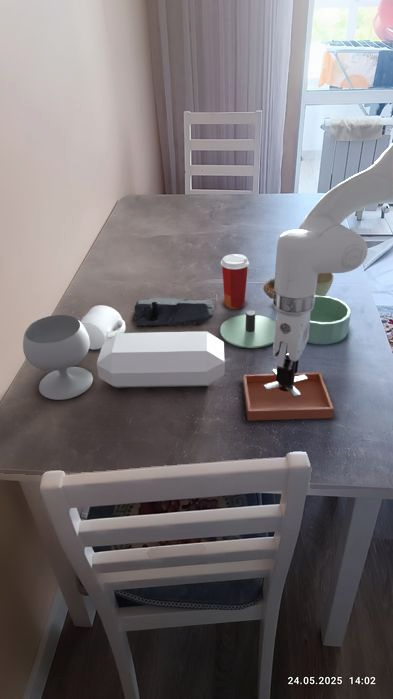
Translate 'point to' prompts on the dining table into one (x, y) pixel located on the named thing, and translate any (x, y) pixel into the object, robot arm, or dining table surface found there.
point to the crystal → (161, 359)
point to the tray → (286, 398)
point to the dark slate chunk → (172, 311)
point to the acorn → (269, 288)
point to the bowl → (328, 320)
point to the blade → (287, 387)
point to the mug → (102, 325)
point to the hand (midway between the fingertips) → (286, 376)
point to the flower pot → (323, 283)
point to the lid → (248, 330)
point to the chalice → (58, 355)
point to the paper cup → (234, 279)
